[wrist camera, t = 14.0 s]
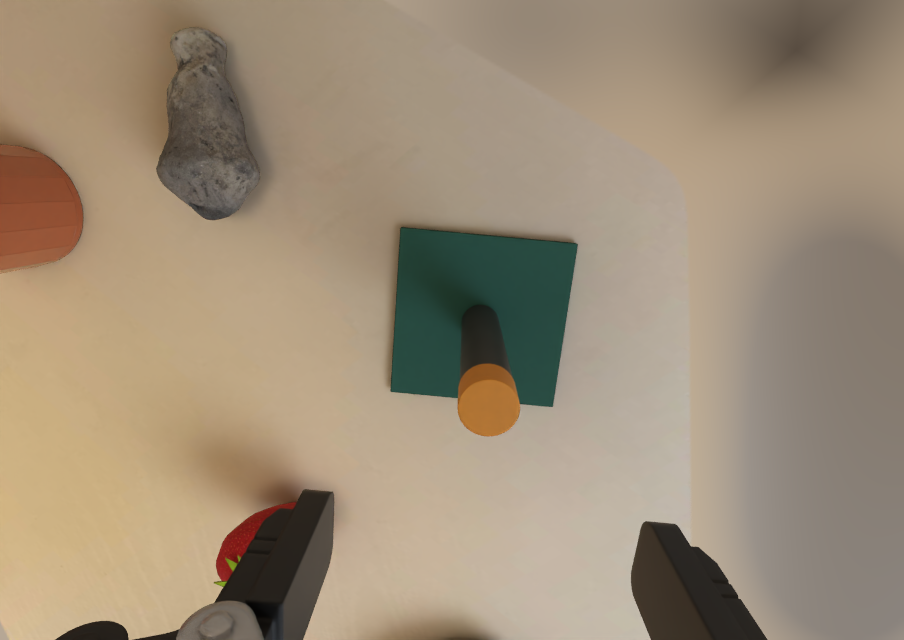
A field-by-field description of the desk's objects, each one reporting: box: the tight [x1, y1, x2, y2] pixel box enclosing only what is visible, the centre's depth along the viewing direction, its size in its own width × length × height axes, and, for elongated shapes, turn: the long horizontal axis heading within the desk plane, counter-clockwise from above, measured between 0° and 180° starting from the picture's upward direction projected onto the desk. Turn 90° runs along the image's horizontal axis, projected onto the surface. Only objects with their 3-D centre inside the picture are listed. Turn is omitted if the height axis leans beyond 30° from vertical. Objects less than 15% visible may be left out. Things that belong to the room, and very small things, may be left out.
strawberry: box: [214, 502, 297, 587], centre depth 35 cm, size 6×8×10 cm
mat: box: [391, 227, 578, 407], centre depth 35 cm, size 12×12×1 cm
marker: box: [458, 305, 520, 436], centre depth 28 cm, size 3×3×14 cm
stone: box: [156, 27, 260, 220], centre depth 30 cm, size 10×6×8 cm
